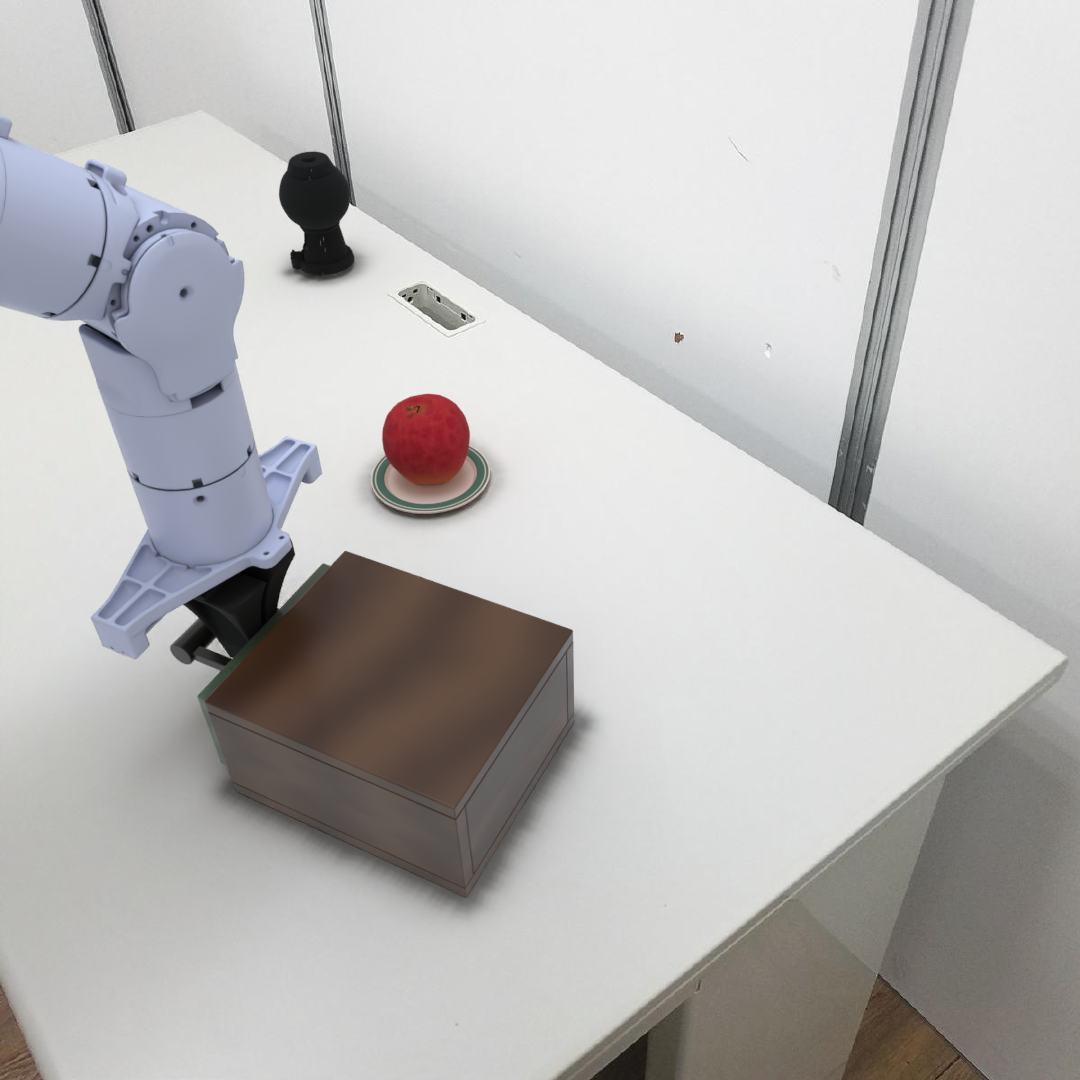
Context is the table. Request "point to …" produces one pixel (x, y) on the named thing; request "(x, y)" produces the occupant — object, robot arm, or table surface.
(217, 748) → the drawer
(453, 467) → the red apple on plate
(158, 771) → the table surface
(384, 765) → the cabinet
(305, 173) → the gumball machine
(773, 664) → the table surface
